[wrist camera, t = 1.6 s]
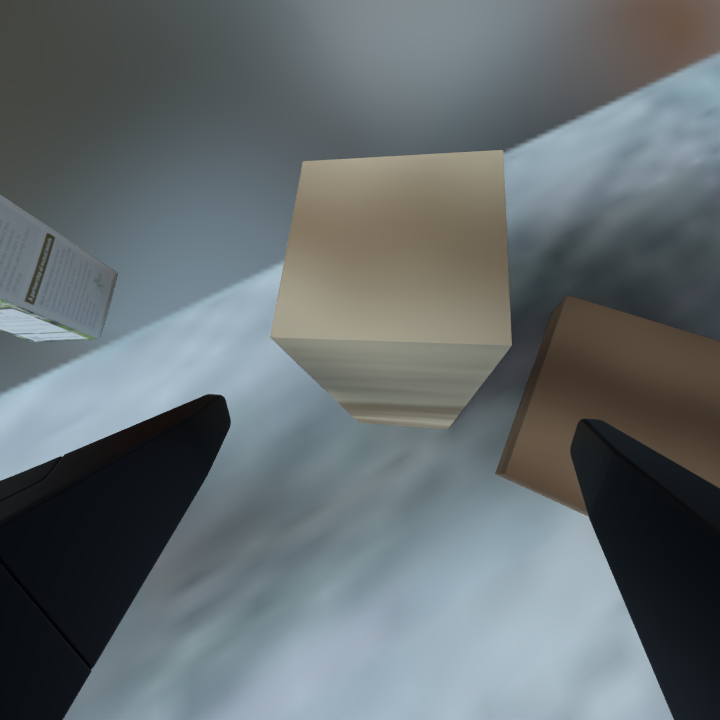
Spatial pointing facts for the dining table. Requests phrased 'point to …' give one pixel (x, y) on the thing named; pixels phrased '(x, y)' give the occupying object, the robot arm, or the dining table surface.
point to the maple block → (398, 283)
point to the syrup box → (49, 282)
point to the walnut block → (614, 396)
